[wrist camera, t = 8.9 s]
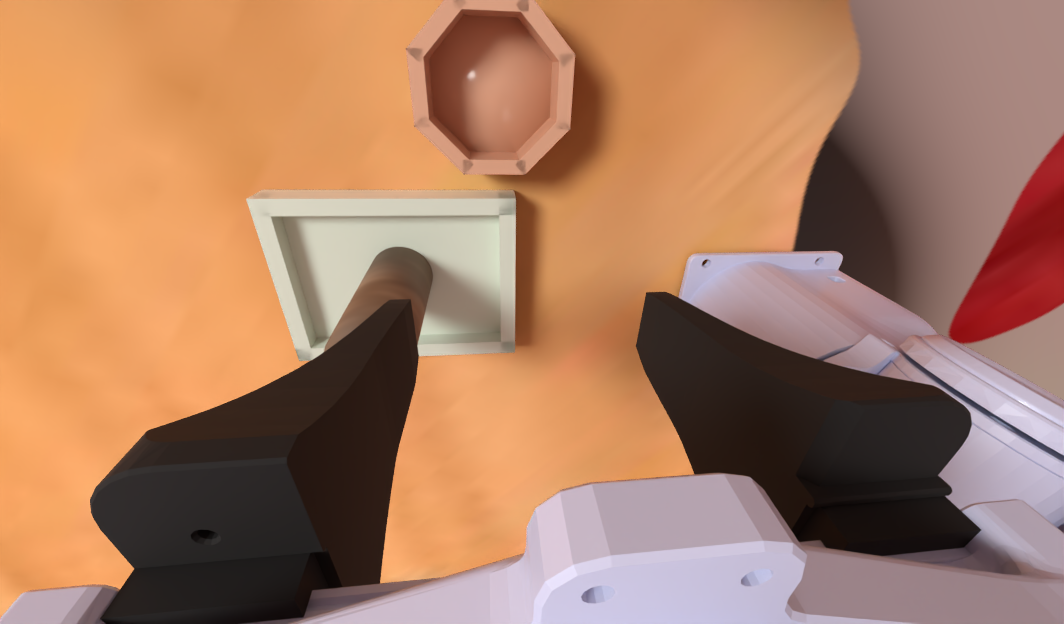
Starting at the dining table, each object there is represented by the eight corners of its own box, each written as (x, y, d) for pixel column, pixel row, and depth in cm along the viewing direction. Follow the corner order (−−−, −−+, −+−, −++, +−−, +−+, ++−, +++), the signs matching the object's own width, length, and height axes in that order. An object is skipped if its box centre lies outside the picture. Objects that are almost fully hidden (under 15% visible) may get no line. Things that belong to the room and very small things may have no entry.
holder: (567, 2, 17) (579, -7, 15) (558, 163, 20) (567, 175, 18) (409, -5, 16) (398, -16, 14) (426, 163, 20) (419, 174, 18)
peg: (432, 248, 21) (410, 326, 15) (433, 302, 23) (414, 393, 17) (368, 244, 21) (317, 323, 14) (373, 299, 22) (330, 392, 16)
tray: (513, 189, 21) (515, 198, 19) (513, 337, 25) (514, 352, 24) (262, 189, 20) (246, 198, 18) (309, 344, 24) (299, 360, 23)
